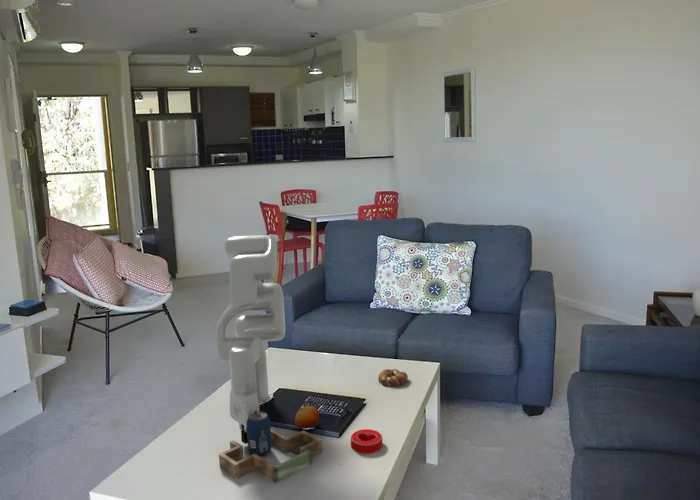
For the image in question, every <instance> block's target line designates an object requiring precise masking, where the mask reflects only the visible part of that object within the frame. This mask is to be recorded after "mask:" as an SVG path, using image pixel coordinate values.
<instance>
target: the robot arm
mask: <svg viewBox="0 0 700 500" xmlns="http://www.w3.org/2000/svg"><path fill="white" fill-rule="evenodd" d="M224 251H225V253H226V256H227V257H228V259H229V261H230V262H229V305H228V306H227V307H226V309H224V311H223V313H222V314H221V315H220V317H219V319H218V321H217V325H216V327H215V351H216V357H217V359H218V360H219V361H220V362H222V363H229V374H230V393H229V414H230V415H229V416H230V417H231V419H233V421H235V422H238V425H239V429H240V436H241V437H240V438H241V442H242V443H243V444H244V445H246V444H248V438H247V423H246V422H247V420H248V417H252V416H253V414H259V413H260V411H261V410H260V407H261V406H260V405H262V404H263V403H265V402H268V401H269V400H271V399H272V398H273V399H274V394H273V393H272V392H271V391H269V381H268V380H269V379H268V377H269V376H268V363H267V352H266V349H265V347H264V343H263V342H277V341H281V340H283V338H284V337H285V335H286V316H285V299H284V291H283V288H282V286H281V285H280V284H279V283H276V282H262V281H266V280H272V279H274V277H275V275H276V273H277V272H276V271H277V263H278V262H277V261H278V260H277V259H278V242H277V239H276V238H275V236H273V235H270V234H260V235H237V236H231V237H228V238H226V240H225V241H224ZM260 311H261V312H263V311H269V312H271V313H253V314H244V315H240V316H239V317H237V316H238V315H239V314H241V313H244V312H260ZM235 317H237V318H236V320H235V321H234V325H233V326H234V328H233V329H234V334H235V337H234V336H233V337H226V330H227V327H228V325H229V323H230V322H231V321H232V319H234V318H235Z"/></svg>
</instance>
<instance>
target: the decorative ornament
mask: <svg viewBox="0 0 700 500" xmlns="http://www.w3.org/2000/svg"><path fill="white" fill-rule="evenodd" d="M350 448H351V449H352V451H355V452H356V453H358V454H359V453H360V454H365V455H366V454H373V453H377V452H380V450H382V448H383V435H382V434H381V433H380V432H379V431H377V430H374V429H364V428H363V429H359V430H356V431H354V432H353V433H352V434H351V436H350Z"/></svg>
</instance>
